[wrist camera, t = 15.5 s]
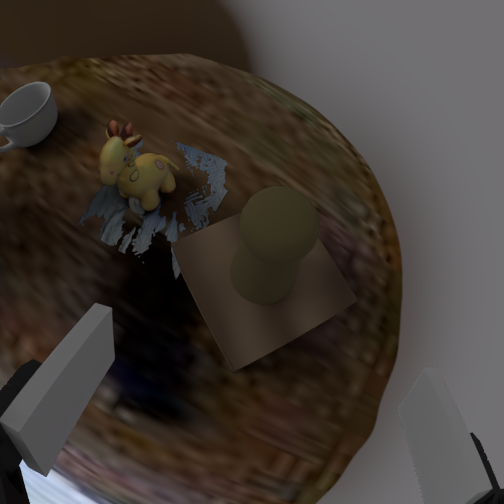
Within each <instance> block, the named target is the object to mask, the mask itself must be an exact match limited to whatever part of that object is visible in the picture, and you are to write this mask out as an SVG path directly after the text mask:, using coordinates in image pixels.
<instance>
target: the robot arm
mask: <svg viewBox="0 0 504 504" xmlns="http://www.w3.org/2000/svg"><path fill="white" fill-rule="evenodd" d="M114 359H115V355H114V341H113V324H112V308H110V307H107V306H104V305H101V304H97V303H95V304H94V305H93V306H92V307H91V308H90V309H89V311H88V312H87V313H86V314H85V315H84V316H83V317H82V318H81V319H80V321H79V322H78V323H77V324H76V325H75V326H74V327H73V329H72V330H71V331H70V332H69V333H68V334H67V335H66V337H65V338H64V339H63V340H62V341H61V342H60V344H59V345H58V346H57V347H56V348H55V349H54V351H53V352H52V353H51V354H50V355H49V357H48V358H47V359H46V360H45V361H44V363H43V364H42V363H40V362H38V361H36V360H33V359H32V360H31V361H29V362H27V363H25V364H23V365H22V366H21V367H20V368H19V369H18V370H17V371H16V372H15V374H14V375H13V377H11V378H10V380H9V381H8V382H7V385H5V386H4V387H3V388H2V389H1V390H0V504H30V502H29V499H28V495H27V492H26V488H25V484H24V481H23V477H22V473H21V469H20V467H19V464H20V463H21V461H22V459H23V460H24V462H25V463H26V465H27V466H28V467H29V468H31V469H32V470H34V471H36V472H38V473H40V474H41V475H43V476H45V477H47V475H48V473H49V471H50V469H51V468H52V466H53V464H54V462H55V460H56V458H57V456H58V455H59V453H60V451H61V449H62V447H63V446H64V444H65V442H66V440H67V438H68V437H69V435H70V433H71V431H72V430H73V428H74V426H75V424H76V423H77V421H78V419H79V417H80V416H81V414H82V412H83V411H84V409H85V407H86V405H87V404H88V402H89V400H90V399H91V397H92V395H93V394H94V392H95V390H96V389H97V387H98V385H99V384H100V382H101V380H102V379H103V377H104V376H105V374H106V372H107V371H108V369H109V367H110V366H111V364H112V363H113V361H114ZM397 412H398V415H399V418H400V421H401V424H402V427H403V431H404V434H405V437H406V440H407V444H408V447H409V450H410V454H411V457H412V461H413V464H414V467H415V471H416V475H417V478H418V482H419V486H420V489H421V493H422V497H423V501H424V504H504V489H500V487H499V485H498V483H497V480H496V477H495V475H494V473H493V470H492V468H491V465H490V463H489V461H487V456H486V454H485V453H484V449H483V447H482V445H481V443H480V441H479V440H478V439H477V437H476V436H475V435H474V434H473V433H469V431H468V429H467V427H466V424H465V422H464V420H463V418H462V416H461V414H460V412H459V410H458V408H457V406H456V404H455V402H454V400H453V398H452V396H451V394H450V392H449V390H448V388H447V386H446V384H445V382H444V380H443V378H442V376H441V375H440V373H439V371H438V369H437V368H433V367H423V369H422V371H421V372H420V374H419V376H418V377H417V379H416V380H415V382H414V384H413V385H412V387H411V388H410V390H409V391H408V393H407V394H406V396H405V397H404V399H403V400H402V402H401V403H400V405H399V406H398V408H397Z"/></svg>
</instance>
